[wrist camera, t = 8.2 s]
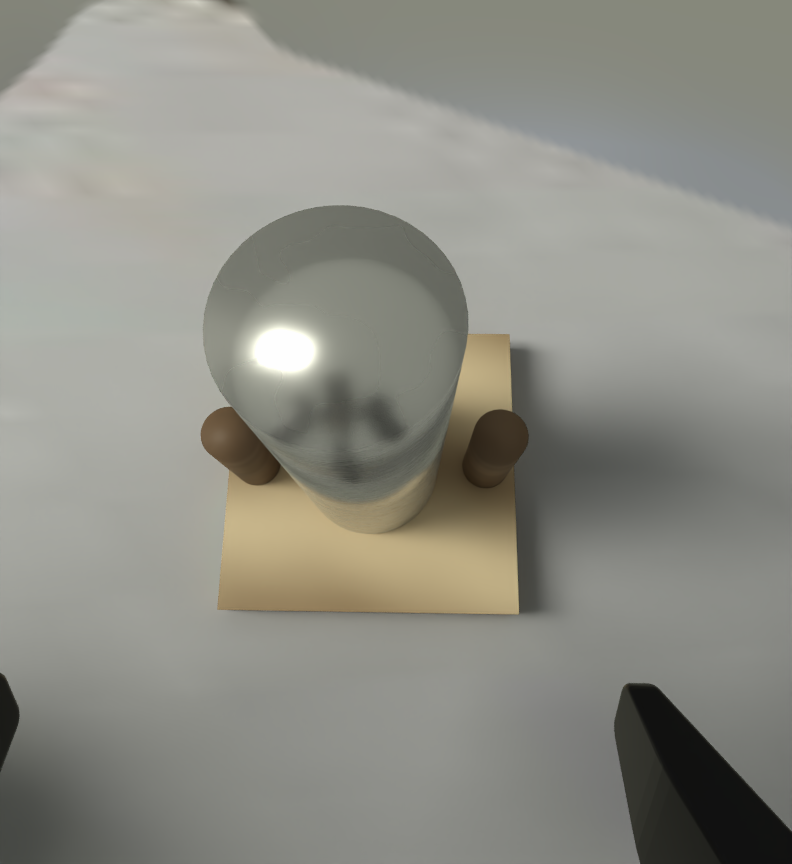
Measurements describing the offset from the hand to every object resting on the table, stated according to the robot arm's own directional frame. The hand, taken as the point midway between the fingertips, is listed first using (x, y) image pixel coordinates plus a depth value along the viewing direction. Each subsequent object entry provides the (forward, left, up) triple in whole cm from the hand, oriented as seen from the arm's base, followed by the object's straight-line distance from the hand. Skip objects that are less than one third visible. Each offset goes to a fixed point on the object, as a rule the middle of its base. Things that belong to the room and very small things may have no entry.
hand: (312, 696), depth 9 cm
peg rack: (+5, -4, -13) cm, 15 cm away
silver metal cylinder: (+5, -3, -12) cm, 14 cm away
